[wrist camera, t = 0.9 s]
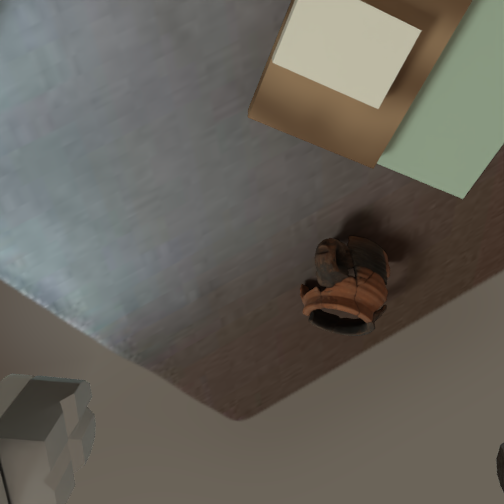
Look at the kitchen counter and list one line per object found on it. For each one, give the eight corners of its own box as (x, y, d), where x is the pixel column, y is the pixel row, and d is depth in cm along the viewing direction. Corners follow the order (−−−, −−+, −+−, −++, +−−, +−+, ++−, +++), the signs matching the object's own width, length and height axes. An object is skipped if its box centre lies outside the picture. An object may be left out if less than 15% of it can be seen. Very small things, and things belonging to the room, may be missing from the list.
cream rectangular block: (271, 57, 35) (272, 62, 34) (305, -27, 32) (308, -26, 31) (372, 102, 37) (378, 109, 35) (413, 27, 34) (421, 30, 32)
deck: (333, -105, 32) (338, -109, 30) (474, -29, 34) (488, -28, 32) (248, 109, 40) (247, 117, 38) (367, 158, 42) (373, 168, 40)
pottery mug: (405, 272, 50) (397, 341, 46) (328, 276, 56) (315, 339, 52) (366, 205, 42) (352, 282, 38) (280, 218, 48) (260, 287, 44)
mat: (480, -26, 34) (482, -26, 34) (583, 29, 36) (586, 30, 36) (372, 160, 42) (373, 161, 42) (461, 197, 44) (462, 198, 44)
